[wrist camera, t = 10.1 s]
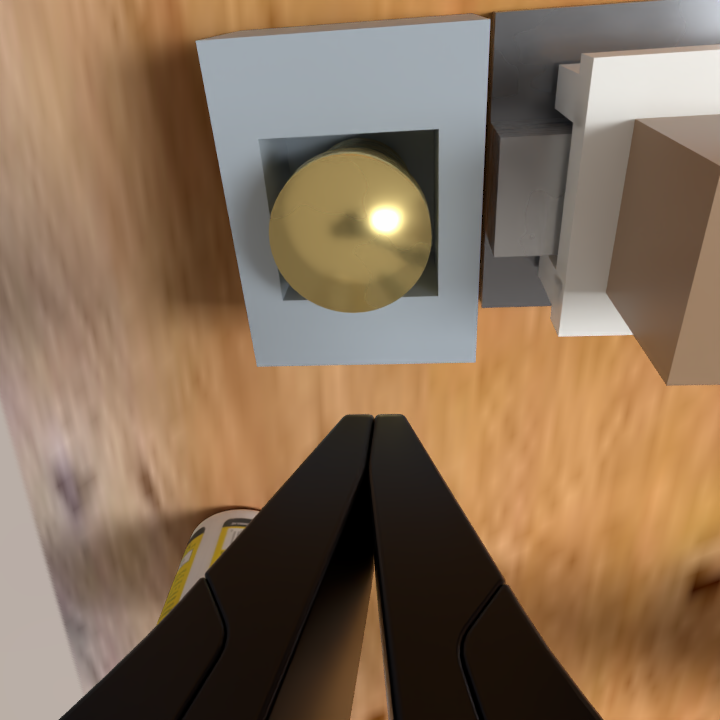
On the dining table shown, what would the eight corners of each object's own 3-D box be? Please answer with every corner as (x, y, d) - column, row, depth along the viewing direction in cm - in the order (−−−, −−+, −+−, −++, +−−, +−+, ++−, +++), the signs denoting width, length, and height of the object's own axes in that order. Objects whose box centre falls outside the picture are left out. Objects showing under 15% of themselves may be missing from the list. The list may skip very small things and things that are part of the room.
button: (426, 117, 15) (431, 151, 12) (427, 250, 17) (431, 310, 14) (288, 125, 15) (256, 160, 12) (304, 255, 17) (280, 314, 14)
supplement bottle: (229, 595, 28) (154, 847, 20) (169, 519, 26) (55, 772, 17) (332, 574, 27) (298, 835, 18) (280, 491, 24) (214, 752, 16)
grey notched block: (472, 13, 15) (490, 19, 12) (463, 299, 19) (475, 362, 16) (240, 30, 15) (195, 40, 12) (282, 305, 20) (257, 366, 16)
